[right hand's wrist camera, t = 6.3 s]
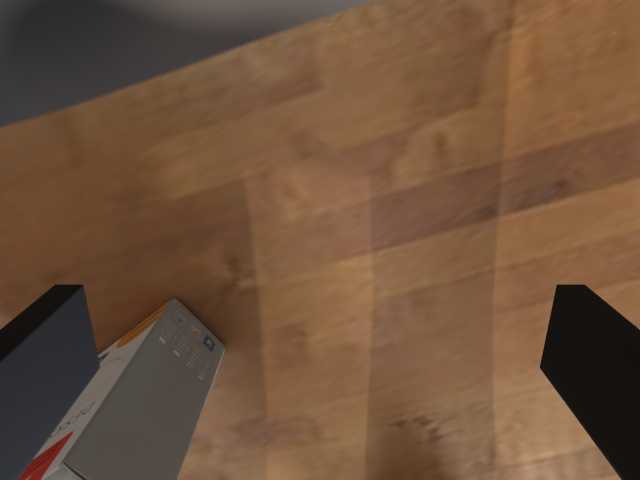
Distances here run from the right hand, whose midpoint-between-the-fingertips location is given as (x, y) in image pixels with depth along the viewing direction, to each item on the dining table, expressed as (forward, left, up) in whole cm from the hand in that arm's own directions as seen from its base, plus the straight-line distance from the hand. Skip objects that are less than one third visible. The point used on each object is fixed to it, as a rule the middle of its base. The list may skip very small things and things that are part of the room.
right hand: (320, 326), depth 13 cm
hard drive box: (-21, +18, -28) cm, 39 cm away
